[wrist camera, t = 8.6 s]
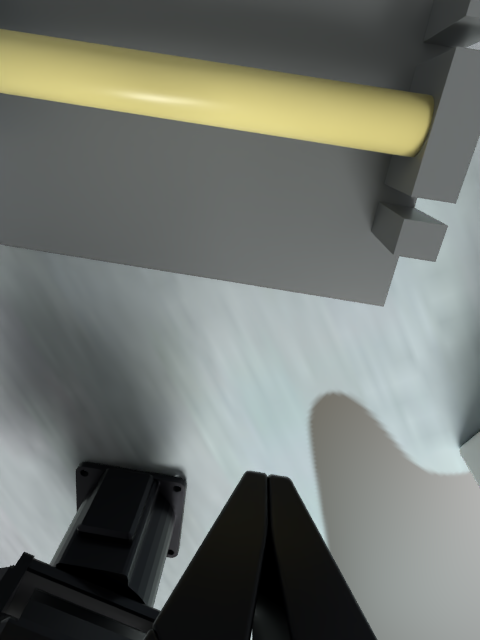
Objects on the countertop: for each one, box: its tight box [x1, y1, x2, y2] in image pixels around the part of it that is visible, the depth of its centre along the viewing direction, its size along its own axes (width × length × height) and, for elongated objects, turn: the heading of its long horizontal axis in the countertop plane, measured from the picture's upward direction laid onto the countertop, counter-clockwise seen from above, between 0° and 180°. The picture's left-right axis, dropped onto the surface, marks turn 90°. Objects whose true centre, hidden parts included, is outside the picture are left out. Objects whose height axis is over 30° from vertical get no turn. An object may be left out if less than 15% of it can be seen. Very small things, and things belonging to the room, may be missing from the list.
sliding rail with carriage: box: [0, 0, 480, 306], centre depth 14 cm, size 14×26×6 cm, turn 82°
